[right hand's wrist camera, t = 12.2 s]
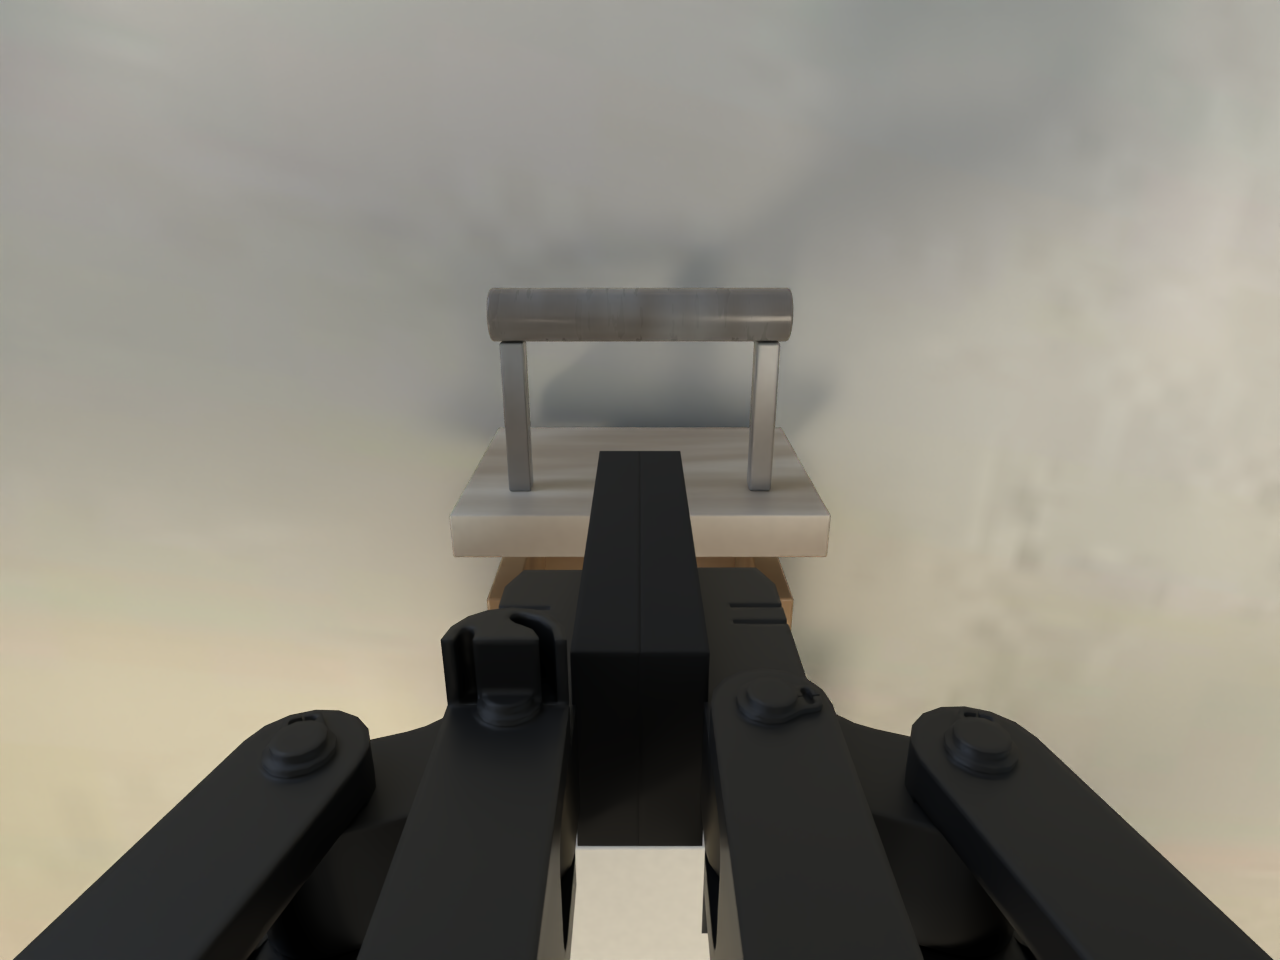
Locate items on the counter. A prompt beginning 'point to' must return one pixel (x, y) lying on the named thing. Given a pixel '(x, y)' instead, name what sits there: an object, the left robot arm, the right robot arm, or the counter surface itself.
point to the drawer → (639, 439)
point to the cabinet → (639, 903)
